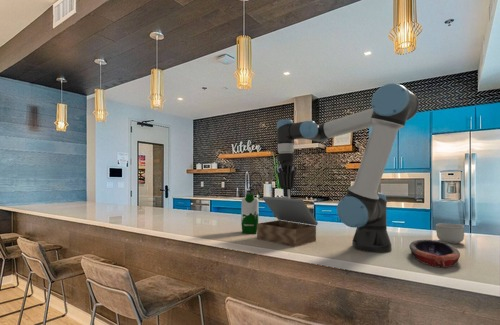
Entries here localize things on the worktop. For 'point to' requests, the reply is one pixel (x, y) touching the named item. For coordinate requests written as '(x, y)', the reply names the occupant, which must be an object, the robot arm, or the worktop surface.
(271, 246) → the worktop surface
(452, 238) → the teacup
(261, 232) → the walnut box
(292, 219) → the lid
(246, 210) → the milk carton
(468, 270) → the worktop surface
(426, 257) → the dish
